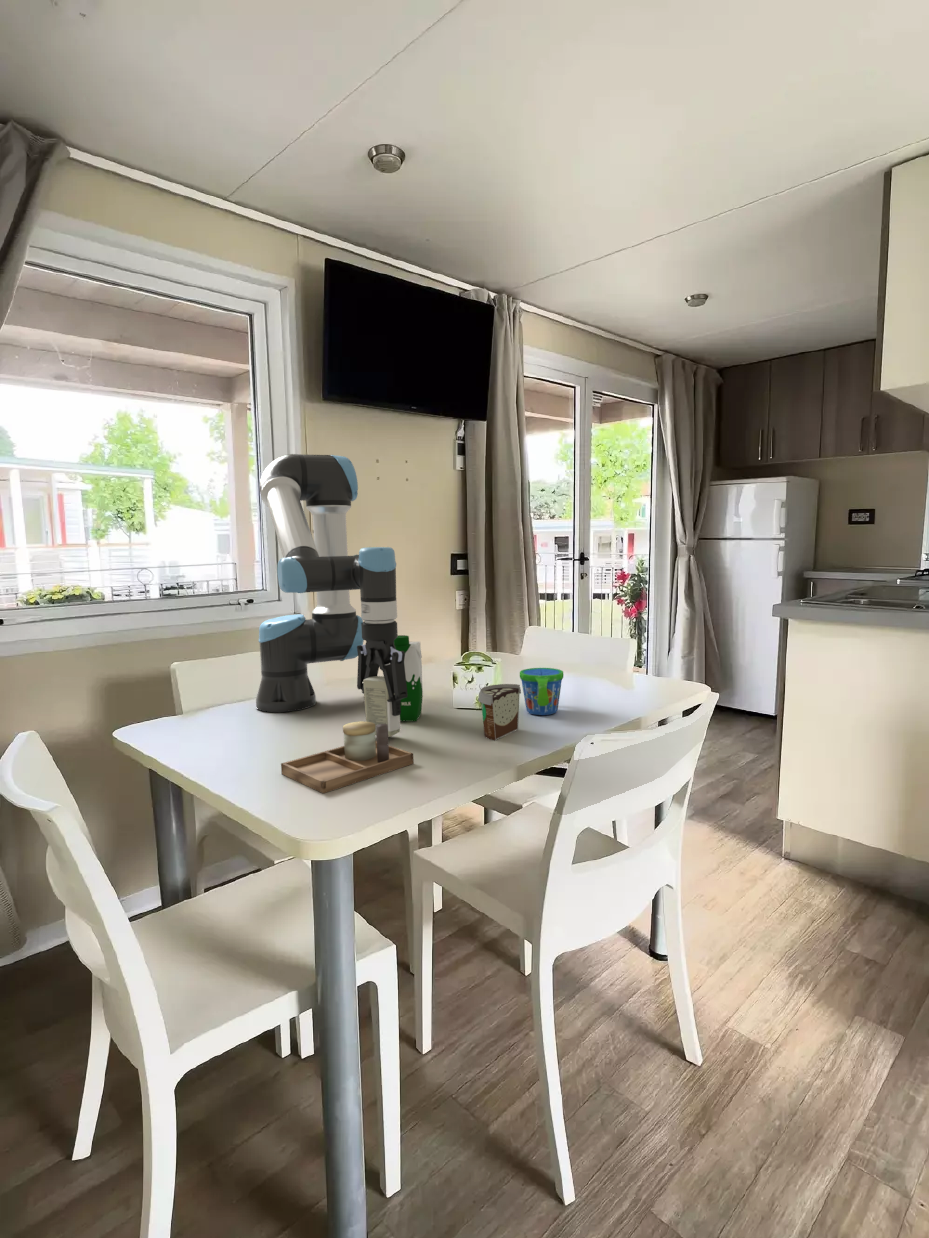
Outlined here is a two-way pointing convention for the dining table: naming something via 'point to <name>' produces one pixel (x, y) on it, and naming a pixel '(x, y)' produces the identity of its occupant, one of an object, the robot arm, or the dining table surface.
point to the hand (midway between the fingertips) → (382, 725)
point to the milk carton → (411, 678)
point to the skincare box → (376, 701)
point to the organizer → (349, 759)
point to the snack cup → (541, 689)
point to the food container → (500, 709)
